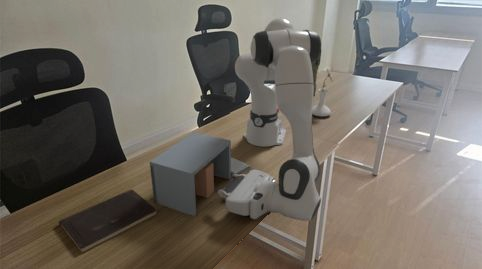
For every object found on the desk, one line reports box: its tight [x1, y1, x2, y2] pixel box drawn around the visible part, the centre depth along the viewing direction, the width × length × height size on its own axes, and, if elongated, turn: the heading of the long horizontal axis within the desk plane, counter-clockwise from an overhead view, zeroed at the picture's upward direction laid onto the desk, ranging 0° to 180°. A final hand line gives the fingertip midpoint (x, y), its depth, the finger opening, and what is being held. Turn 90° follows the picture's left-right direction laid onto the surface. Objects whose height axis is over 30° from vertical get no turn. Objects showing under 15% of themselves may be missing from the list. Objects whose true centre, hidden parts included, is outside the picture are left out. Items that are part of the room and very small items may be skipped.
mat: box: [223, 174, 242, 193], centre depth 115 cm, size 12×12×1 cm
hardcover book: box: [58, 188, 158, 253], centre depth 98 cm, size 16×23×2 cm
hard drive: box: [231, 156, 251, 176], centre depth 128 cm, size 2×8×12 cm
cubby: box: [149, 131, 232, 217], centre depth 110 cm, size 24×15×15 cm, turn 154°
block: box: [194, 162, 215, 199], centre depth 109 cm, size 4×4×11 cm
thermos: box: [311, 52, 322, 98], centre depth 203 cm, size 9×12×35 cm
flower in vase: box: [312, 68, 334, 118], centre depth 175 cm, size 13×11×25 cm
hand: (226, 183), depth 106 cm, fingers open, 8 cm apart
